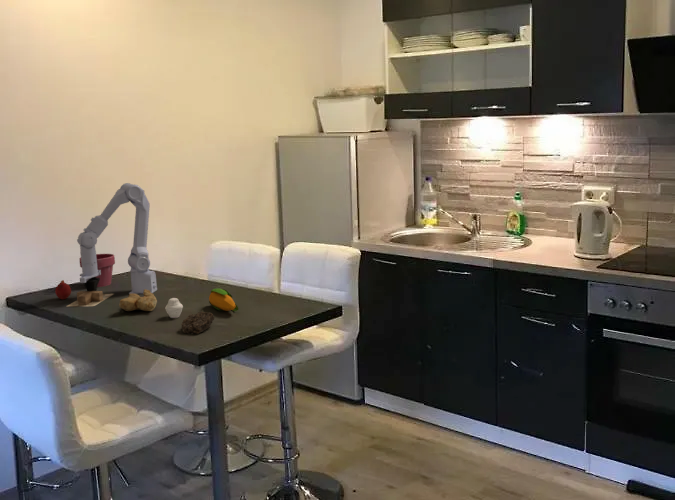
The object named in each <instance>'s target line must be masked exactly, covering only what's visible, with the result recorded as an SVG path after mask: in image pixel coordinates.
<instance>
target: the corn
mask: <svg viewBox="0 0 675 500" xmlns="http://www.w3.org/2000/svg"><path fill="white" fill-rule="evenodd" d="M208 300H209V301H208V302H209V304H210V306H212V307H213V308H215V309H216V310H218V311H220V312H224V311H231V310H232V312H238V311H239V306H238V305H237V304H236V303H235V301H234V299H233V296H232V294H231V293H230V291H228V290H227V289H225V288H213V289H211V291H210V294H209V297H208Z"/></svg>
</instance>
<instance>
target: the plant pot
mask: <svg viewBox="0 0 675 500" xmlns="http://www.w3.org/2000/svg"><path fill="white" fill-rule="evenodd" d="M96 258H97V268H98V270H101V275H98V276H96V278H100V281H99V283H98V286H97V288H102V287H103V288H104V287H107V286H110V285H111V284H112V278H113V272H114V271H113V270H114V265H115V264H116V260H115V255H114V253H113V254H112V253H96ZM79 267H80V268H81V269H82V263H81V256H79Z"/></svg>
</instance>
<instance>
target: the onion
mask: <svg viewBox="0 0 675 500" xmlns="http://www.w3.org/2000/svg"><path fill="white" fill-rule="evenodd" d="M54 292H55V295H56V297H57V298H58V299H61V300H66V299H68V298H69V297H70V296H71V293H72V288H71V286H70V285H69V284H68V283H66V282H65V280H60V281H59V283H58V284H57V285H56V287H55V290H54Z"/></svg>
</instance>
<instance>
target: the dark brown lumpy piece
mask: <svg viewBox="0 0 675 500" xmlns="http://www.w3.org/2000/svg"><path fill="white" fill-rule="evenodd" d="M214 320H215V317H214V314H213V313H212V312H206V311H205V312H204V311H198V312H197V313H196V314H195V313H194V314H192V313H191V314H189V315H188V316H187V317H186V318H185V319H183V320H182V323H181V329H182V332H183V333H184V334H190V333H193V334H192V335H195V334H200V333H202V332H204V331H206V330H207V329H209V328H211V325H212V324H213V321H214ZM194 333H195V334H194Z"/></svg>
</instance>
